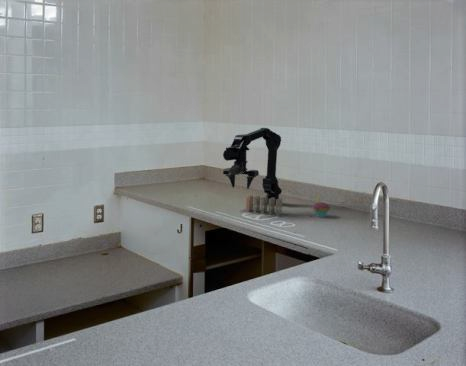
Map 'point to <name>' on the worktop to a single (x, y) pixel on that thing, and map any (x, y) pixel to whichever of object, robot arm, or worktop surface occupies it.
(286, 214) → the mat
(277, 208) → the domino
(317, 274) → the worktop surface
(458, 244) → the worktop surface
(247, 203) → the domino
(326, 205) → the cupcake
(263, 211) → the domino
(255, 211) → the domino
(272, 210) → the domino
